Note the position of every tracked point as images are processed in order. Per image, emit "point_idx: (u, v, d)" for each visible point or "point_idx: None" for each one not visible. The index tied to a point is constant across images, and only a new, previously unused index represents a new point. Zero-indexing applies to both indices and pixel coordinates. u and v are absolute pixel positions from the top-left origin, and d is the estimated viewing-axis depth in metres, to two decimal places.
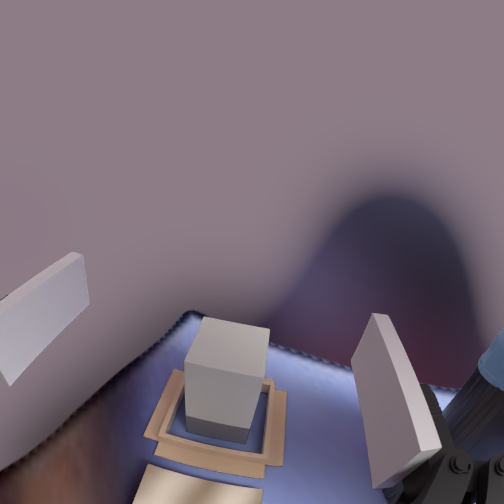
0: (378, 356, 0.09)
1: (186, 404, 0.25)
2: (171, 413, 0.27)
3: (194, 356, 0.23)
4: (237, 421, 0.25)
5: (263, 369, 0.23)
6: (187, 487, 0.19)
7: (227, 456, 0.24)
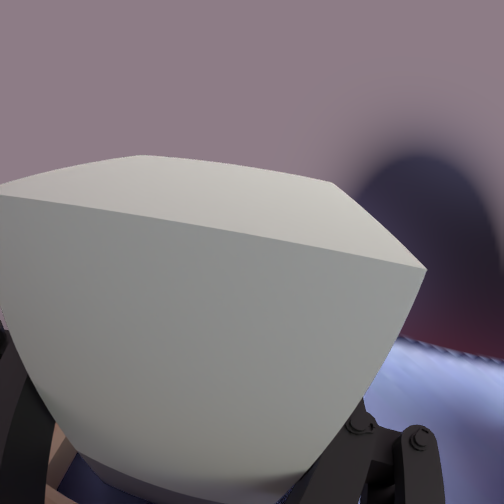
0: None
1: (57, 421, 0.06)
2: None
3: (26, 183, 0.04)
4: (226, 496, 0.06)
5: (386, 236, 0.03)
6: None
7: None
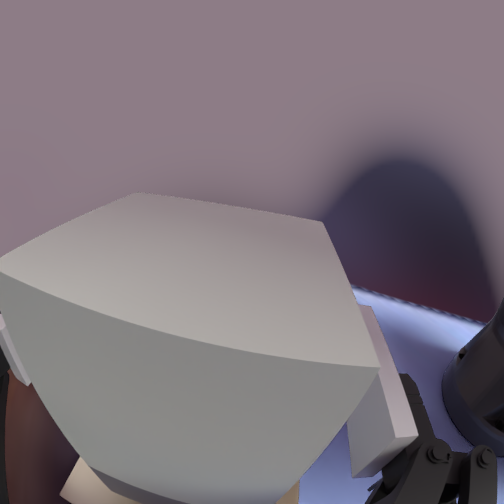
0: None
1: (71, 443, 0.06)
2: None
3: (31, 254, 0.04)
4: None
5: (356, 323, 0.04)
6: None
7: None
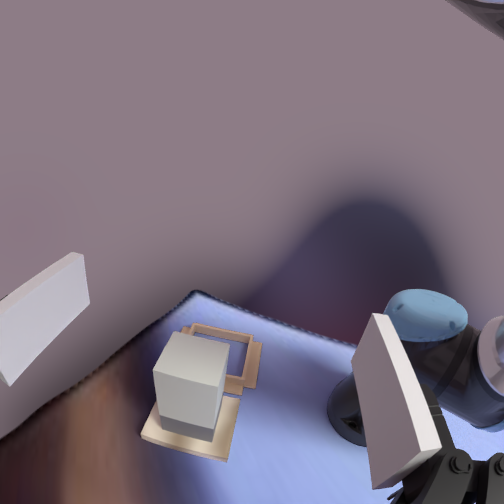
0: (378, 356, 0.09)
1: (158, 405, 0.28)
2: None
3: (161, 366, 0.26)
4: (201, 422, 0.28)
5: (218, 379, 0.26)
6: None
7: None
